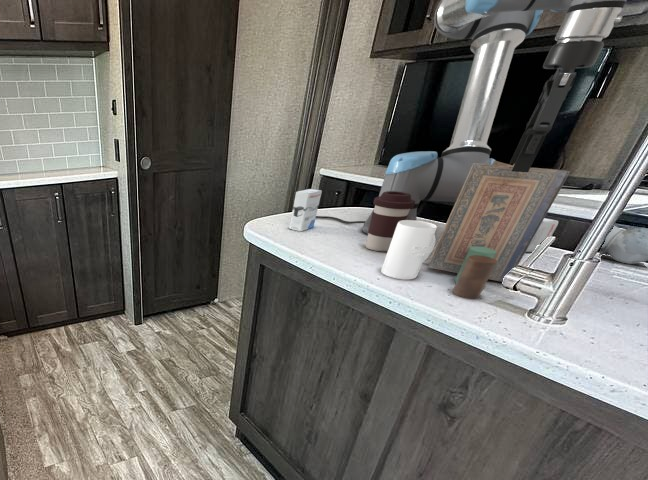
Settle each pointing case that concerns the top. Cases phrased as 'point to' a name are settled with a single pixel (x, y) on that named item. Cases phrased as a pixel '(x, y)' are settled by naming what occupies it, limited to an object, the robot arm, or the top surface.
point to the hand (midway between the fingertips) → (517, 168)
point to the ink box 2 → (542, 233)
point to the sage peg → (476, 251)
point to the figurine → (626, 245)
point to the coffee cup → (387, 218)
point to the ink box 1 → (305, 209)
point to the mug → (409, 249)
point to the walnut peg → (474, 276)
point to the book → (497, 215)
